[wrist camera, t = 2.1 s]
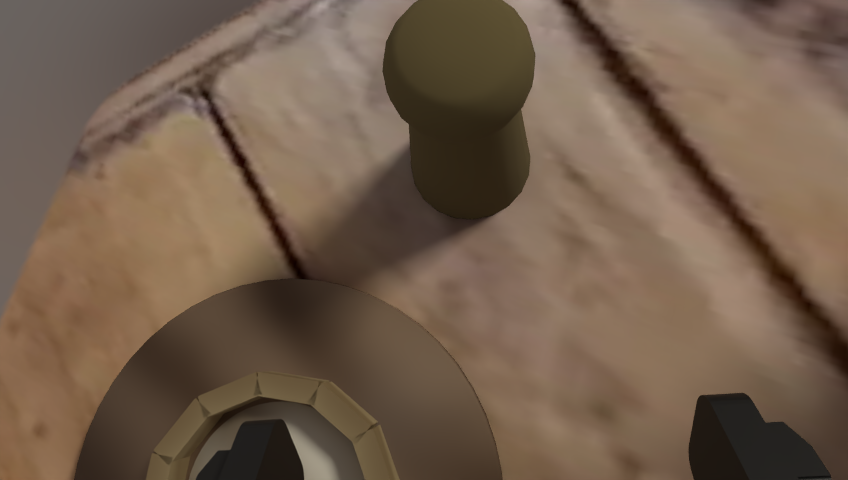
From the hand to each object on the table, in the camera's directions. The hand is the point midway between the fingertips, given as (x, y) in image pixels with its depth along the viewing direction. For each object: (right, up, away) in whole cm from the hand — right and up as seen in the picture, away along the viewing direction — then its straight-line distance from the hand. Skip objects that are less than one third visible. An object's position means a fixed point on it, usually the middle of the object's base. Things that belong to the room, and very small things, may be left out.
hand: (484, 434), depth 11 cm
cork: (+1, +8, +17) cm, 19 cm away
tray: (-8, -8, +15) cm, 18 cm away
